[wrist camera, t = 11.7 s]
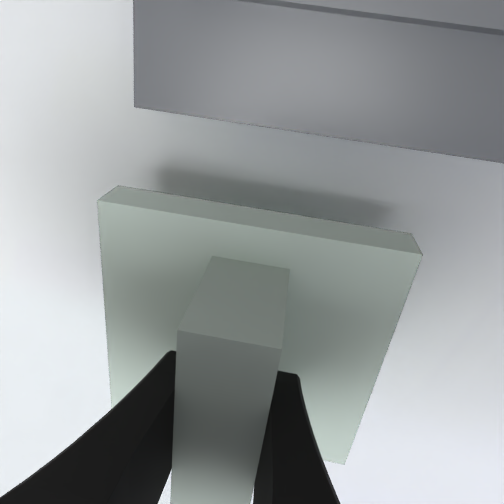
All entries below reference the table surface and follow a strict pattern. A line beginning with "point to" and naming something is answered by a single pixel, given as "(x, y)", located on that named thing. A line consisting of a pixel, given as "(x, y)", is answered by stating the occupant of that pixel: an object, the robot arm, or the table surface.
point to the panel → (331, 68)
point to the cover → (246, 323)
